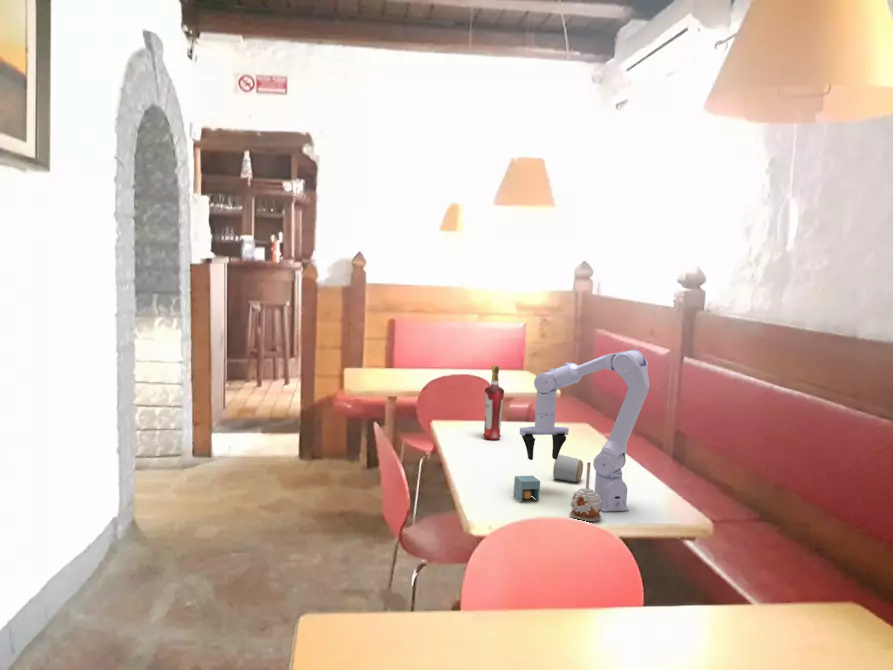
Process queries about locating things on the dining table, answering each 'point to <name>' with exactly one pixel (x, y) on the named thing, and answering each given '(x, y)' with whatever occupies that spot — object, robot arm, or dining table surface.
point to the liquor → (493, 407)
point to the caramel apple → (586, 502)
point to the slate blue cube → (526, 486)
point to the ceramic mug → (568, 468)
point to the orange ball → (526, 494)
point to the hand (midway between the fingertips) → (542, 459)
